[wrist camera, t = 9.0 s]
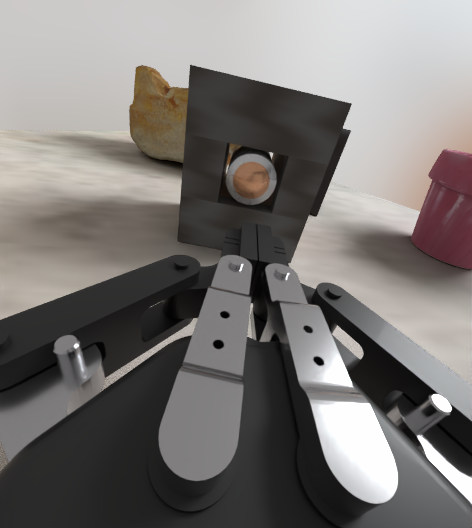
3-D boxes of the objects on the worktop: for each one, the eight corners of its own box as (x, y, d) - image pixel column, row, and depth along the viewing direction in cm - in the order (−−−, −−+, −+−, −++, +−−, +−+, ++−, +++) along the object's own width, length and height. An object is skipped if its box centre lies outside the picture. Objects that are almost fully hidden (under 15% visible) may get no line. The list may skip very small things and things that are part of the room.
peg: (263, 178, 32) (273, 140, 29) (269, 209, 24) (283, 160, 21) (229, 170, 32) (236, 132, 29) (222, 200, 23) (230, 149, 21)
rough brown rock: (263, 177, 55) (283, 96, 48) (232, 187, 41) (253, 76, 34) (174, 151, 61) (179, 77, 54) (121, 153, 47) (118, 52, 40)
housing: (280, 221, 35) (320, 99, 27) (290, 262, 27) (351, 103, 19) (194, 204, 34) (208, 72, 26) (177, 241, 26) (190, 65, 18)
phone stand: (316, 216, 40) (350, 132, 33) (280, 204, 41) (305, 121, 34) (322, 201, 47) (351, 129, 40) (291, 191, 48) (314, 120, 41)
